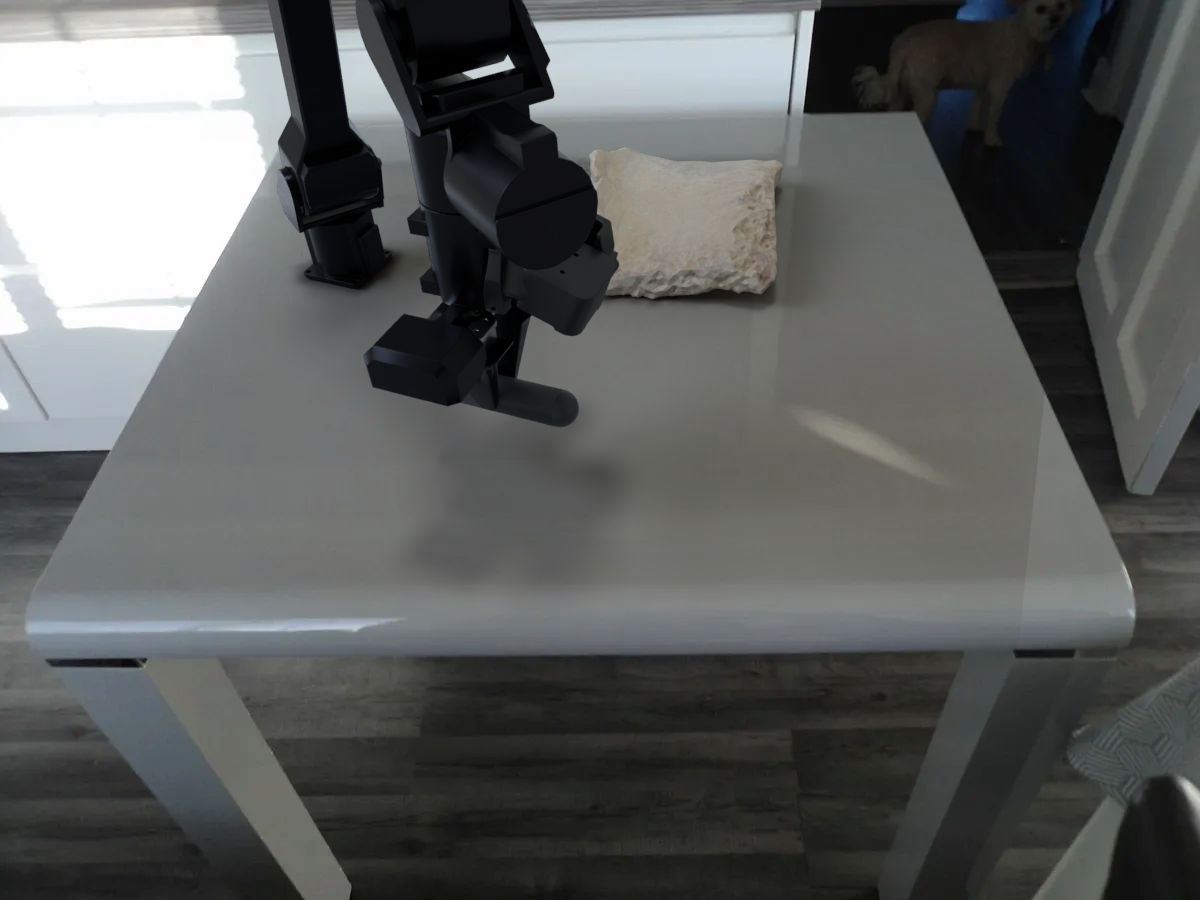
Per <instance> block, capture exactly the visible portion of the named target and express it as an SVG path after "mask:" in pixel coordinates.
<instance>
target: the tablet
mask: <svg viewBox="0 0 1200 900" xmlns="http://www.w3.org/2000/svg"><path fill="white" fill-rule="evenodd" d="M588 157H589V160H590V166H589V170H590V174H591V175H590V178H591V181H592V183H593V186H594V188H595V189H596V191H597V196H598V208H597V214H598V215H600V216H602V217H604V218H606V219H608V220H610V221H611V225H612V231H613V237H614V244H615V247H614V251H616V252H618V256H617V260H618V262H619V268H618V269H617V270H616V272H615V273H614V275H613V276H612V278H611V280H610V283H609V285H608V288H607V291H606V293H605V296H625V295H631V298H640V297H645V298H648V299H651V300H655V299H657V298H661V297H662V298H663V297H667V296H669V297H674V296H675V297H676V296H690V295H691V296H693V295H695V296H696V295H697V296H698V295H699V294H703V293H704V294H705V293H709V292H711V291H713V290H723V291H733V292H734V293H737V294H741V293H742V292H745V293H747V292H748V293H753V294H756V295H762V294H763V293H765V291H766V290H767V289H768V288H769V287H770V286H771V285H772V284H773V283H774V282H775V281H776V276H777V275H778V274H777V273H778V270H777V264H778V255H777V254H778V251H777V243H778V242H777V228H776V199H775V198H776V197H775V196H776V195H775V194H776V193H775V189H776V188H777V186H778V184H779V183H780V181H781V180H782V179H781V178H782V173H783V168H784V166H783V164H782V163H781V162H780V161H779V160H777V159H771V160H770V159H769V160H760V159H745V160H729V161H725V160H724V161H723V160H721V161H704V160H685V161H684V160H683V161H681V160H680V161H679V160H672V159H667V158H663V157H660V156H654V155H651V154H646V153H642V152H639V151H637V150H635V149H633V148H630V147H621V148H619V149H615V150H610V151H607V150H604V149H601V148H597V149H594V150H593V151H592V152H591V153H590V154H588Z"/></svg>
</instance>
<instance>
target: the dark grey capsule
mask: <svg viewBox="0 0 1200 900" xmlns="http://www.w3.org/2000/svg"><path fill="white" fill-rule="evenodd" d="M460 404H464V405H467V406H471V407H475V408H479V409H482V408H481V407H480V406H479V405H478V403H477V402H476V401H475V400H474V399H473V398H472V397H471V396H470V395H469V393H468V394H467V396H466V397H465V398H464V399H463V401H462V402H461V403H460ZM494 412H495V413H499V414H503V415H507V416H510V417H515V418H518V419H523V420H527V421H530V422H535V423H538V424H543V425H546V426H549V427H554V428H566V427H568V426H570V425H572V424H573V423H574V422H576V420H577V417H578V416H579V413H580V404H579V402H578V399H577V398H576V396H575V395H574V394H573V393H572V392H570V391H569V390H567V389H563V388H558V387H554V386H551V385H546V384H541V383H539V382H533V381H529V380H524V379H520V378H518V377H517V378H513V377H508V376H504V375H500V374H498V405H497V408H496V410H495V411H494Z"/></svg>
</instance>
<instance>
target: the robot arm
mask: <svg viewBox="0 0 1200 900" xmlns="http://www.w3.org/2000/svg"><path fill="white" fill-rule="evenodd" d="M266 2H267V6H268V11H269V16H270V21H271V25H272V30H273V35H274V41H275V44H276V49H277V54H278V58H279V63H280V68H281V74H282V77H283V82H284V88H285V92H286V98H287V102H288V107H289V112H290V116H289V118H288V120H287V122H286V124H285V126H284V128H283V130H282V132H281V133H280V136H279V138H278V141H277V148H278V152H279V156H280V157H279V159H280V163H281V168H278V169H277V171H276V173H277V175H276V177H277V178H276V194H277V197H278V200H279V202H280V205H281V208H282V210H283V213H284V215H285V216H286V218H287V219H288V220H289V222H290V223H291V224H292V225H293V227H294V229H295V230H296V231H297V232H298V234H302V233H303V235H304V239H305V242H306V245H307V248H308V251H309V254H310V259H311V262H312V264H310V265H309V266H308V267H307V268H306V269H305V270H304V271H303V276H304V277H305V278H307V279H311V280H316V281H320V282H324V283H330V284H335V285H338V286H343V287H346V288H347V287H348V288H353V289H359V288H360V287H361V288H362V287H363V285H364V284H365V283H366V282H367V281H369V279H371V278H372V277H373V276H374V275H375V274H376V273H377V272H378V271H379V270H380V269H382V268H383V266H384V265H386V263H388V261H390V260H391V259H392V258H393V255H394V254H393V251H392V250H389V249H385V248H384V245H383V244H384V243H383V241H382V236H381V233H380V232H381V231H380V228H379V225H378V224H377V223H375V218H374V215H373V210H375V209H383V208H384V207H385V190H384V181H383V179H384V178H383V170H382V167H383V162H382V159H381V157H379V156H377V155H376V153H375V151H374V150H373V147H371V145H370V144H369V143H367V141H366V140H365V138H364V136H363V135H362V133H361V132H360V131H359V129H358V128H357V127H356V125H355V124H354V122H353V120H352V119H351V118H350V117H349V114H348V113H349V112H348V108H347V107H348V105H347V99H346V93H345V86H344V79H343V73H342V65H341V59H340V53H339V45H338V39H337V31H336V26H335V25H336V24H335V19H334V13H333V12H334V11H333V6H332V0H266ZM355 15H356V20H357V26H358V29H359V33H360V37H361V41H362V42H363V46H364V48H365V51H366V52H367V54H368V57H369V59H370V61H371V63H372V64H373V66H374V69H375V70H376V72H377V74H378V76H379V79H380V80H381V82H382V83H383V86H384V87H385V89H386V91H387V93H388V95H389V97H390V99H391V101H392V103H393V105H394V106H395V108H396V111H397V112H398V115H399V116H400V118H401V120H402V123H403V128H404V133H405V138H406V143H407V148H408V153H409V158H410V164H411V168H412V173H413V178H414V183H415V188H416V194H417V199H418V204H419V206H418V207H417V209H415V210H414V211H413V212H412V213H411V214H410V215H408V217H407V218H406V222H407V225H408V232H409V234H410V235H414V236H415V235H416V236H420V237H425V239H426V246H427V250H428V255H429V260H430V265H431V266H430V267H429V268H428V269H427V270H426V271H425V272H424V273H423V274H422V275H421V276H420V277H419V284H420V289H421V293H424V294H429V295H432V296H436V297H437V296H438V297H441V301H442V302H440V304H439V305H438V306H437V307H436V308H435V309H434V310H433V311H432V312H431V314H429V316H428V317H427V318H426V317H421V316H417V315H413V314H407V313H403V314H401V315H400V316H399V318H397V319H396V320H395V321H394V322H393V323H392V324H391V325H390V327H388V328H387V330H385V331H384V333H383V334H382V335H381V336H380V337H379V338H378V339H377V340H376V341H375V342H374V343H373V344H372V345H371V346H370V347H369V348H368V349H367V350H366V351H365V352H364V353H363V355H362V357H363V360H364V364H365V367H366V371H367V375H368V377H369V381H370V384H371V387H372V388H374V389H378V390H382V391H385V392H389V393H393V394H398V395H401V396H406V397H409V398H413V399H416V400H420V401H424V402H429V403H433V404H436V405H440V406H444V407H451V406H455V405H457V404H462V403H461V402H462V401H463V399H464V398H465V397H466V396H467V394H468V393H469V395H470V396H471V397H472V398H473V399H474V400H475V401H476V402H477V403H478V405H479V406H480V407H481V408H480V409H483V410H487V411H491V412H495V410H496V408H497V405H498V374H500V375H504V376H508V377H513V378H517V379H518V376H519V372H520V366H521V362H522V356H523V352H524V349H525V343H526V338H527V334H528V329H529V325H530V321H531V319H532V318H531V317H534V318H536V319H537V320H540V321H542V322H543V323H545V324H548V326H551V327H552V328H553V329H554V330H555V331H556V332H557V333H559V334H561V335H564V336H566V337H576V336H579V335H581V334H582V333H583V331H584V330H585V329H586V327H587V325H588V323H589V322H590V320H591V319H592V318H593V317H594V315H595V314H596V312H597V311H598V310H599V309H600V308H601V306H602V303H603V301H604V298H605V296H606V295H605V293H606V291H607V288H608V285H609V283H610V280H611V278H612V276H613V275H614V273H615V272H616V270H617V269H618V268H619V262H618V260H617V256H618V252H616V251H614V247H615V244H614V237H613V231H612V225H611V221H610V220H608V219H606V218H604V217H602V216H600V215H598V214H597V208H598V196H597V191H596V189H595V188H594V186H593V183H592V181H591V175H590V174H589V173H587V171H586V170H585V169H584V168H583V167H582V166H581V165H580V164H578V163H577V162H575V161H574V160H573V159H571V158H570V157H568V156H567V155H565V154H564V153H563V152H561V151H560V150H559V146H558V145H559V143H558V142H559V141H558V136H557V134H556V132H555V131H554V130H552V129H551V128H549V127H548V126H546V125H545V124H543V123H539V122H535V121H534V120H532V119H531V110H530V106H533V105H536V104H538V103H539V104H540V103H543V102H546V101H549V100H553V99H554V98H555V89H554V86H553V83H552V80H551V78H550V75H549V71H548V69H547V68H548V66H549V65H550V62H551V58H550V56H549V54H548V52H547V49H546V47H545V44H544V42H543V40H542V38H541V37H540V34H539V32H538V30H537V28H536V26H535V23H534V21H533V19H532V17H531V15H530V13H529V10H528V8H527V6H526V4H525V2H524V0H355ZM507 57H508V58H509V59H510V62H511V63H512V65H513V68H509V69H506V70H502V71H498V72H495V73H491V74H487V75H483V76H479V77H476V78H473V77H471V76H469V75H467V74H466V72H467V73H468V72H470V71H474V70H478V69H482V68H485V67H489V66H492V65H496V64H497V65H498V64H500V63H503V62H505V61H506V58H507Z"/></svg>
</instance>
